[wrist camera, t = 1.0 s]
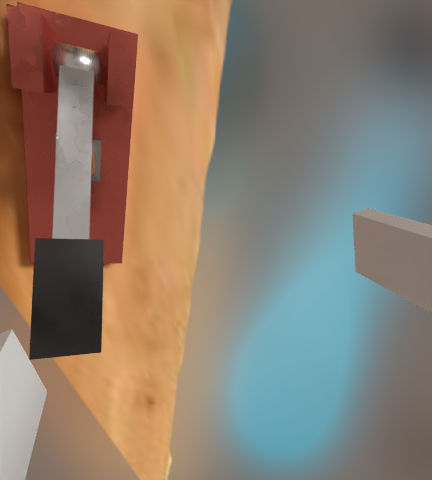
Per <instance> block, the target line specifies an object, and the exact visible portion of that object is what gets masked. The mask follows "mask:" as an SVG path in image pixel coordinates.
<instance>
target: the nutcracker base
mask: <svg viewBox="0 0 432 480" xmlns="http://www.w3.org/2000/svg"><path fill="white" fill-rule="evenodd" d="M7 19H8V35H9V51H10V67H11V83H12V88H18V89H22V107H23V126H24V145H25V164H26V183H27V202H28V221H29V240H30V259H31V263H34V252H35V238H52V235H53V211H54V186H55V162H56V138H57V113H58V89H59V77H56V76H55V74H54V64H53V47H54V41H56V42H60V43H65V44H69V45H73V46H77V47H82V48H86V49H90V50H94V51H98V52H100V71H99V85H96V84H94V91H93V126H92V161H91V196H90V231H89V239H94V240H104V254H103V263H122V252H123V238H124V224H125V209H126V195H127V181H128V167H129V152H130V138H131V124H132V110H133V98H134V83H135V69H136V55H137V41H138V34H135V33H131V32H127V31H124V30H120V29H116V28H112V27H109V26H105V25H101V24H97V23H94V22H90V21H86V20H82V19H79V18H75V17H71V16H67V15H64V14H60V13H56V12H52V11H49V10H45V9H41V8H37V7H34V6H30V5H26V4H22V3H19V2H17V6H13V5H9V4H7Z"/></svg>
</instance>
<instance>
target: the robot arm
mask: <svg viewBox="0 0 432 480" xmlns="http://www.w3.org/2000/svg"><path fill="white" fill-rule="evenodd" d="M353 229H354V247H355V267H356V272H357V273H359V274H361V275H363V276H365V277H367V278H368V279H370V280H372V281H374V282H376V283H378V284H379V285H381V286H383V287H385V288H387V289H389V290H390V291H392V292H394V293H396V294H398V295H400V296H402V297H403V298H405V299H407V300H409V301H411V302H412V303H414V304H416V305H418V306H420V307H422V308H424V309H425V310H427V311H429V312H431V313H432V226H431V225H428V224H424V223H420V222H417V221H413V220H409V219H406V218H402V217H398V216H394V215H391V214H387V213H384V212H380V211H376V210H372V209H369V208H367V209H365V210H361V211H358V212H356V213H353ZM46 394H47V390H46V389H45V387H44V385H43V383H42V382H41V380H40V378H39V376H38V374H37V373H36V371H35V369H34V367H33V366H32V364H31V362H30V360H29V359H28V357H27V355H26V353H25V351H24V350H23V348H22V346H21V344H20V343H19V341H18V339H17V337H16V335H15V334H14V332H13V330H9V331H6V332H3V333H0V480H25V477H26V473H27V469H28V465H29V461H30V457H31V453H32V449H33V445H34V441H35V438H36V434H37V430H38V426H39V421H40V418H41V414H42V410H43V406H44V402H45V398H46Z"/></svg>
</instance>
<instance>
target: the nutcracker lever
mask: <svg viewBox="0 0 432 480" xmlns="http://www.w3.org/2000/svg"><path fill="white" fill-rule="evenodd" d="M53 64H54V74H55V76H56V77H59V89H58V113H57V138H56V162H55V186H54V211H53V235H52V238H35V252H34V274H33V295H32V317H31V339H30V360H31V359H41V358H51V357H60V356H70V355H80V354H90V353H100V352H101V338H102V296H103V254H104V240H94V239H89V231H90V196H91V161H92V126H93V91H94V84H96V85H99V71H100V52H98V51H94V50H90V49H86V48H82V47H77V46H73V45H69V44H65V43H60V42H56V41H54V47H53Z"/></svg>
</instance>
